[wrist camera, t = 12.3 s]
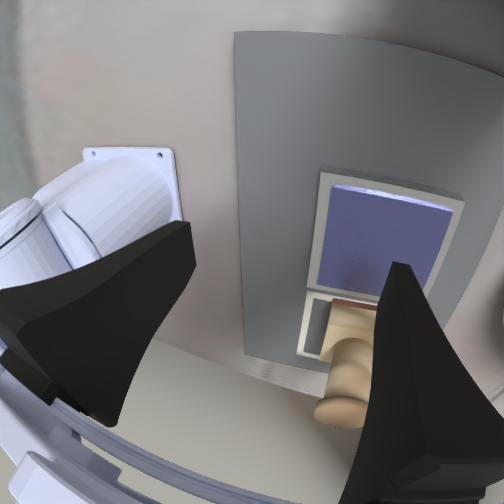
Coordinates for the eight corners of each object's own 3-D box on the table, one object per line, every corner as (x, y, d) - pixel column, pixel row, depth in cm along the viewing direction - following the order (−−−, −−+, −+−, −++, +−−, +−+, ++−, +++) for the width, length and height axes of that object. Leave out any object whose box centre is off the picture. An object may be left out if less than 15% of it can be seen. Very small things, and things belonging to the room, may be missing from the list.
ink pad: (309, 276, 24) (305, 289, 22) (323, 164, 18) (320, 173, 17) (420, 297, 21) (421, 311, 20) (460, 193, 16) (466, 204, 15)
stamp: (324, 335, 27) (303, 423, 21) (333, 297, 24) (312, 397, 18) (376, 344, 26) (366, 434, 19) (393, 308, 23) (388, 409, 16)
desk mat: (246, 350, 33) (244, 354, 33) (237, 32, 15) (233, 31, 14) (404, 381, 29) (404, 386, 28) (527, 88, 11) (532, 90, 10)
